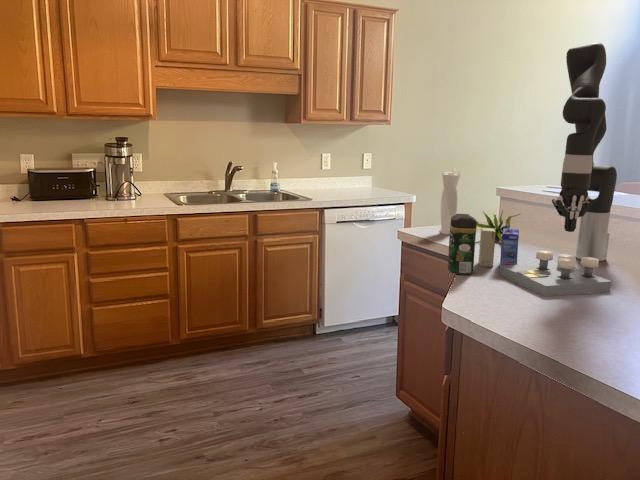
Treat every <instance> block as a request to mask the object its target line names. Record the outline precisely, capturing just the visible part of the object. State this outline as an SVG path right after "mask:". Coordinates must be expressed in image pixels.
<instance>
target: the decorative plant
mask: <svg viewBox="0 0 640 480" xmlns="http://www.w3.org/2000/svg"><path fill="white" fill-rule="evenodd" d="M503 212H504V210H502V211H501V214H500V217H499V224H498V218H497V214H494V213H492V214H493V215H492V216H493V221H492V219H491V217H489V216H488V215H487V213H485V212H484V211H482V213H483V214H484V217H485V218H486V219H485V220H486V222H487V224H482V223H480V222H479V221H478V220H476V221H477V228H478V227H480V229H481V228H493V229H495V231H496V234H495V238H496V237H498V239H499V241H500V243H501V242H502V233H503V228H507V225H506V224H508V225H509V228H510V229H511V219H512V218H514V217H518V216H520V215H521V213H518V214H516V215H515V214H514V215H510V216H508V217H507V219H506V220H505V225H504V226H503V223H504V220H503V219H502V217H503ZM477 244H478V245H479V243H477Z"/></svg>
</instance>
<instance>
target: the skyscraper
mask: <svg viewBox="0 0 640 480" xmlns="http://www.w3.org/2000/svg"><path fill="white" fill-rule="evenodd" d="M454 171H456V172H457V173H458V174H456V172H454ZM441 176H442V184H443V189H442V193H441V198H440V199H441V200H440V224H441V228H440V230H439V232H440V233H441V235H449V236H450V223H451V217H452V216H454V215H456V214H457V212H458V191H457V186H458V183H459V179H460V176H461V174H460V172H459V170H458V169H456V168H454V169H452V170H451V171H450V172H449V171H444V172H442V175H441Z"/></svg>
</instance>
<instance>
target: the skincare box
mask: <svg viewBox="0 0 640 480" xmlns="http://www.w3.org/2000/svg"><path fill="white" fill-rule="evenodd" d="M495 229H496V228H495ZM495 229H493V228H481V227H480V236H479V237H480V238H479V239H480V240H479V253H478V265H479V267H489V268H493V267H494V258H495V257H494V256H495V244H496V236H495V234H496V231H495Z"/></svg>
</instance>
